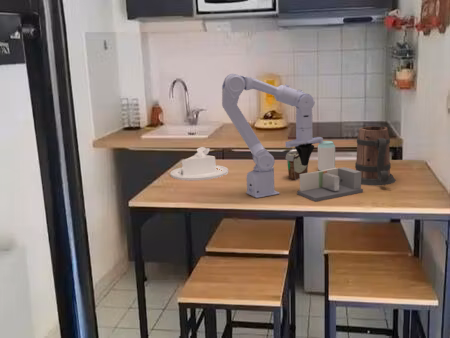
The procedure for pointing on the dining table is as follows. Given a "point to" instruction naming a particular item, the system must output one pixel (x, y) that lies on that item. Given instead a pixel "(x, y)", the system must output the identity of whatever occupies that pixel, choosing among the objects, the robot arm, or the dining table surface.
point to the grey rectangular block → (330, 181)
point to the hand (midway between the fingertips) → (304, 165)
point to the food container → (295, 165)
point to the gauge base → (316, 192)
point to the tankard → (374, 156)
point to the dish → (199, 167)
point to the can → (326, 155)
